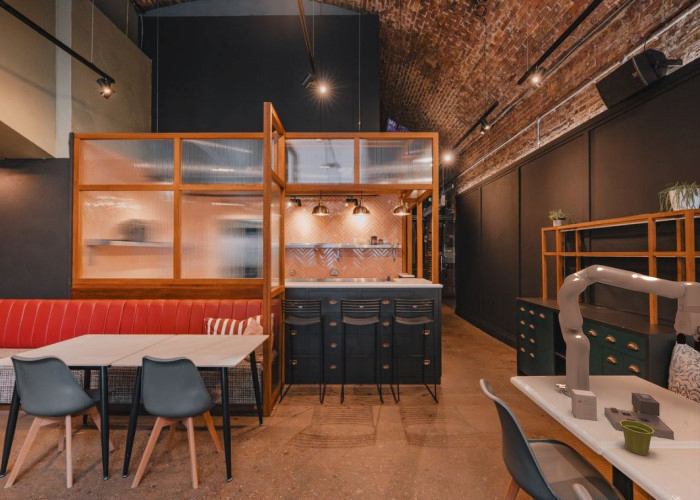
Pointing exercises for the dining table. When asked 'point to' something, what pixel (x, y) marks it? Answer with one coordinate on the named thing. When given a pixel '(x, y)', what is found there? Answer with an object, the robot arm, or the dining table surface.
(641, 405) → the plug
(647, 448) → the plant pot
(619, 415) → the socket
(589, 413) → the small box
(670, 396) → the dining table surface
